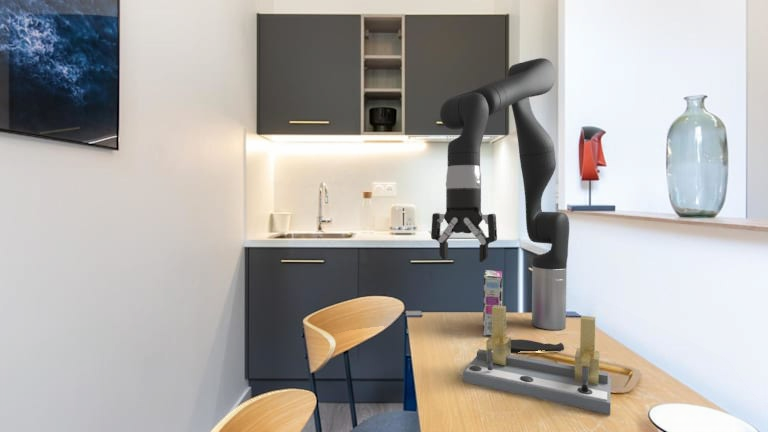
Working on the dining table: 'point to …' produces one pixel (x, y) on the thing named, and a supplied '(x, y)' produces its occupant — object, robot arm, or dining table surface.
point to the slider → (498, 339)
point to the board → (540, 381)
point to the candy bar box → (491, 298)
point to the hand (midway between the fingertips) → (463, 260)
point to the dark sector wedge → (533, 346)
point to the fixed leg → (587, 355)
